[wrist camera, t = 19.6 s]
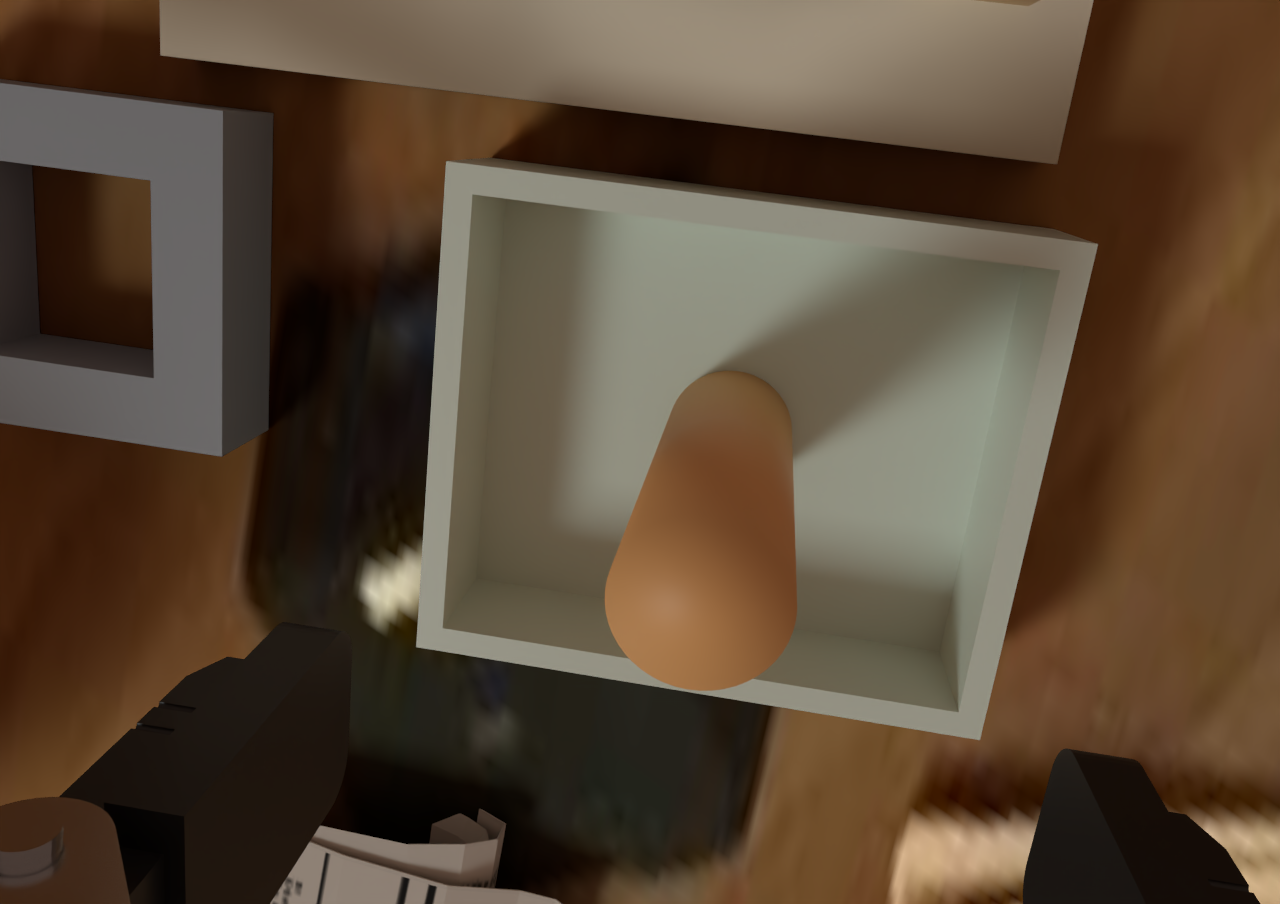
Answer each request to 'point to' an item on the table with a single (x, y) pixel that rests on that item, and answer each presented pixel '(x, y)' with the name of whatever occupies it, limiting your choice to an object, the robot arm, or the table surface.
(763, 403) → the dowel
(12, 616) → the table surface
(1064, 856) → the robot arm
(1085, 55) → the table surface
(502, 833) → the newspaper
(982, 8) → the board
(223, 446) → the socket block
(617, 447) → the tray
